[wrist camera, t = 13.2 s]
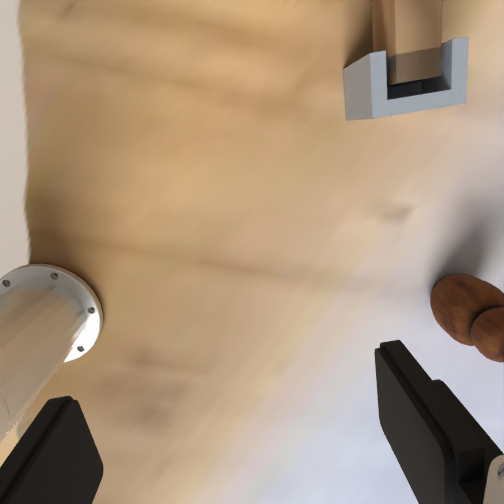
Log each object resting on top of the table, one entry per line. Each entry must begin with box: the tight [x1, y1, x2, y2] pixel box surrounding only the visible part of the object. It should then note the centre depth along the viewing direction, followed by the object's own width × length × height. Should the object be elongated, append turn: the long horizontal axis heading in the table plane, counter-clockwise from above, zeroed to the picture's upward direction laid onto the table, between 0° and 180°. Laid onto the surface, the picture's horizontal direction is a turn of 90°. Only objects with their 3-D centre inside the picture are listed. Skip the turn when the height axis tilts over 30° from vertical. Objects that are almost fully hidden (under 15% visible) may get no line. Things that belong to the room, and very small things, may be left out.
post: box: [343, 36, 469, 121], centre depth 32 cm, size 7×5×8 cm, turn 99°
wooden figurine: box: [430, 274, 504, 362], centre depth 36 cm, size 7×6×15 cm
